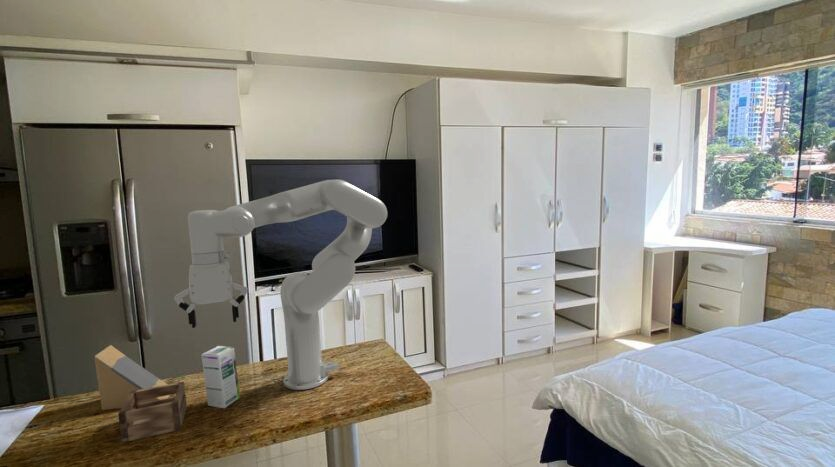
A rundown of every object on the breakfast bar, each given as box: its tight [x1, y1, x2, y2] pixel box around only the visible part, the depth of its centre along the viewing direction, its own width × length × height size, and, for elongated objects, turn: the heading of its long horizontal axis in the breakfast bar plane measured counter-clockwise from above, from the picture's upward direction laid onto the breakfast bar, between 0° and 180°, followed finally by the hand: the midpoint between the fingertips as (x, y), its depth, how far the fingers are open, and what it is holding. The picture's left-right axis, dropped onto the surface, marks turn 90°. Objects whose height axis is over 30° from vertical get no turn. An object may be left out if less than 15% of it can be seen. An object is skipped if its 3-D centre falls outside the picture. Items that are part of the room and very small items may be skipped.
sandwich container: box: [94, 344, 171, 411], centre depth 120 cm, size 9×15×15 cm, turn 100°
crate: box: [118, 381, 188, 443], centre depth 108 cm, size 12×12×7 cm
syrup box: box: [201, 345, 241, 409], centre depth 117 cm, size 6×6×14 cm
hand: (214, 323), depth 115 cm, fingers open, 9 cm apart
